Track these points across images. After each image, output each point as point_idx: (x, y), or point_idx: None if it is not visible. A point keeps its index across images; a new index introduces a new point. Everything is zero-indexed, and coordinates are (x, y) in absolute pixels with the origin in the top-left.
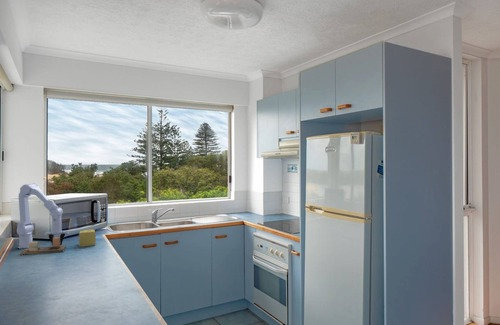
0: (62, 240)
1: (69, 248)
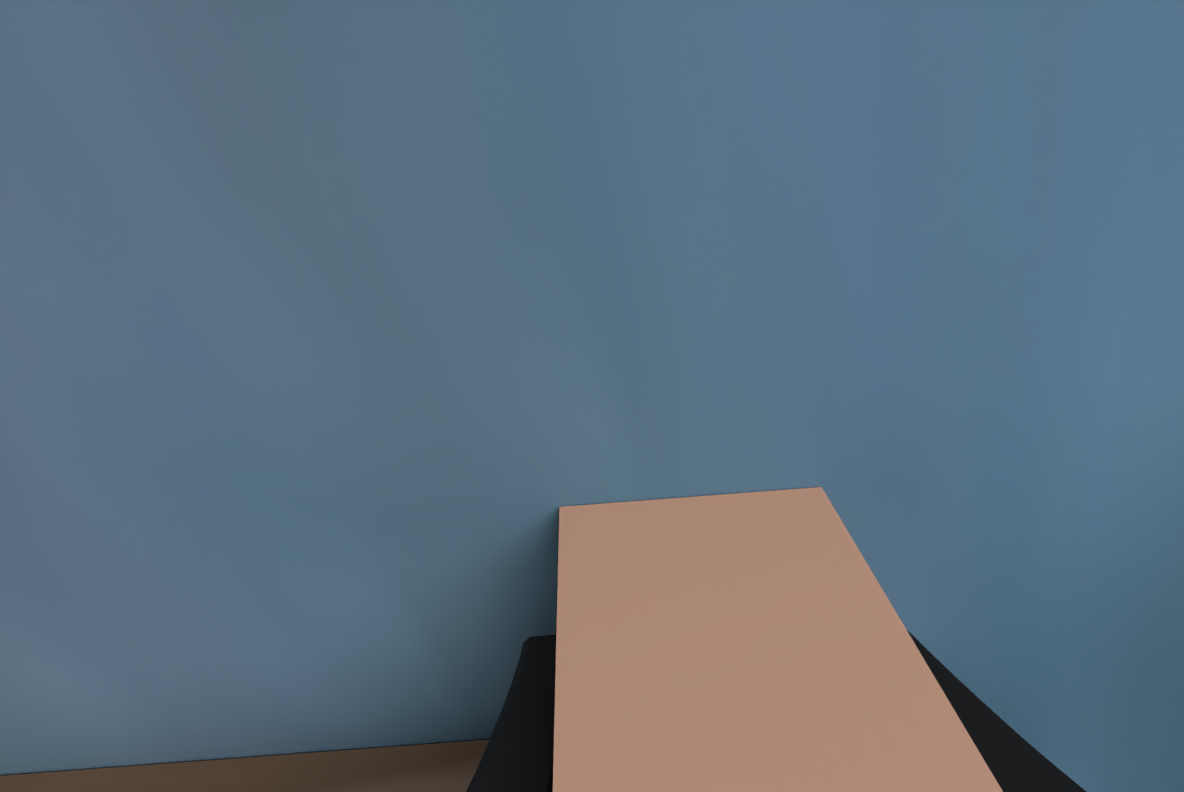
0: (1011, 757)
1: (1075, 772)
